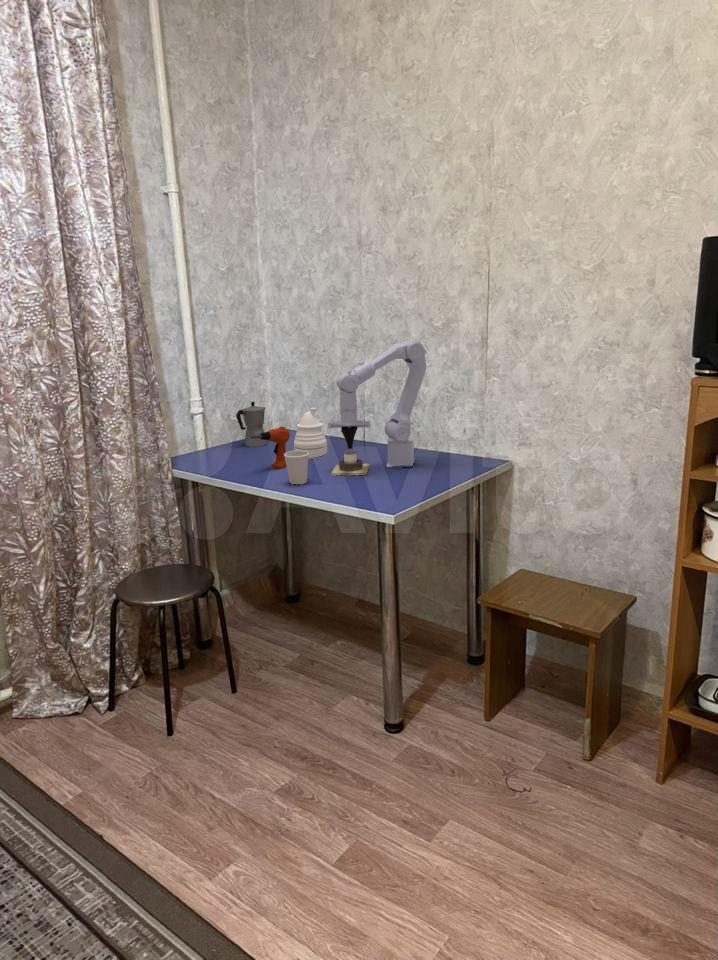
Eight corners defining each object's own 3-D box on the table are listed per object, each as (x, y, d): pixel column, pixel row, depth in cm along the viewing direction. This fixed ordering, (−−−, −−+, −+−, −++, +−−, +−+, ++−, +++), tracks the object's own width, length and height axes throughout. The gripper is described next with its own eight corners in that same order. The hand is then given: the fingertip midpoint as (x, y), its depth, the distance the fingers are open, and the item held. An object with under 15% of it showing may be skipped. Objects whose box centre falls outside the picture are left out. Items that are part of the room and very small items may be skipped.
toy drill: (245, 470, 245) (246, 428, 243) (283, 465, 260) (284, 425, 257) (255, 472, 242) (255, 429, 240) (293, 467, 257) (294, 426, 254)
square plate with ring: (369, 466, 251) (369, 457, 250) (366, 475, 239) (365, 465, 238) (336, 466, 252) (336, 457, 251) (331, 475, 241) (331, 465, 240)
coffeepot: (260, 440, 299) (257, 398, 294) (275, 443, 293) (272, 400, 288) (232, 447, 288) (228, 404, 283) (246, 450, 282) (243, 406, 277)
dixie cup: (306, 486, 229) (304, 456, 227) (282, 485, 231) (280, 456, 229) (313, 479, 237) (312, 450, 234) (290, 478, 239) (288, 450, 236)
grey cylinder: (357, 466, 247) (356, 450, 246) (356, 469, 243) (355, 453, 241) (345, 466, 248) (344, 450, 246) (344, 470, 243) (343, 453, 242)
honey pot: (329, 450, 277) (327, 405, 272) (324, 458, 265) (322, 411, 260) (297, 450, 279) (295, 405, 274) (291, 458, 266) (288, 411, 261)
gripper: (325, 411, 237) (327, 450, 240) (368, 411, 235) (369, 450, 239) (329, 408, 243) (331, 446, 247) (370, 407, 242) (371, 445, 245)
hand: (350, 447), depth 243 cm, fingers closed
